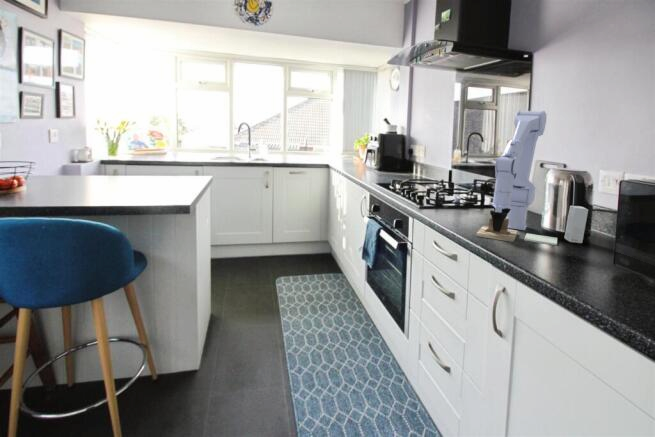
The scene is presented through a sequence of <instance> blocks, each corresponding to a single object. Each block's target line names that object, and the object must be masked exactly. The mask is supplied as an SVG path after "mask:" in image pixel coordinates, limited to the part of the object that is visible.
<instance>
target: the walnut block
mask: <svg viewBox="0 0 655 437" xmlns="http://www.w3.org/2000/svg"><path fill="white" fill-rule="evenodd" d="M508 223H509V219H504V221H503V224H502V227H501V230H500V232H496V231H493V221H492V216H491V217H490V218H489V221H488V232H491V233H498V234H504V235H507V230H509V228H508Z"/></svg>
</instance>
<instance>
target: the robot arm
mask: <svg viewBox="0 0 655 437" xmlns="http://www.w3.org/2000/svg"><path fill="white" fill-rule="evenodd" d="M513 119H514V126H515V131H514V135H513V137H512V140H508V142H507V144H506V146H505V148H504V150H503V152H502V155H501V156H499V157H497V159H496V161H495V164H494V165H495V166H494V171H495V174H494V175H495V176H494V177H495V184H494V185H495V186H494V190H493V191H494V192H493V200H492V202H490V201H489V202H488V205H489V206H492V207H493V209H492V210H489V213H490V215H491V217H492V221H493V231H496V232H500V230H501V227H502V224H503V221H504V219H509V223H508V229H511V230H513V229H514V230H519V231H520V230H521V231H526V229H527V226H528V225H527V224H526V221H527V214H528V208H529V207H530V206H532V204H533V203H534V200H535V194H536V193H535V191H536V186H535V184H533V182H531V181H530V177H531V176H530V175H531V172H532V165H533V161H534V155H535V151H536V146H537V141H538V138H539V137H540V136H543V135H544V132H545V129H546V123H547V113H546V111H545V110H542V111H541V110H540V111H539V110H537V111H536V110H532V111H531V110H521V109H520V110H517V111H516V112H515V115H514V118H513Z"/></svg>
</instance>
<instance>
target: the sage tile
mask: <svg viewBox="0 0 655 437" xmlns="http://www.w3.org/2000/svg"><path fill="white" fill-rule="evenodd" d="M523 239H524V240H523V241H525V242H532V243H538V244H545V245H552V246H557V245H558V237H554V236H548V235H540V234H535V233H529V232H527V233H526V234H525V236H524V238H523Z"/></svg>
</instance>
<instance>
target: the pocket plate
mask: <svg viewBox="0 0 655 437" xmlns="http://www.w3.org/2000/svg"><path fill="white" fill-rule="evenodd" d="M488 227H489V225H488V226H487V225H482V226H481V227H480V229H479V230H477V232H476V235H475V236H476V237H480V238H487V239H493V240H500V241H504V242H512V243H514V241H515V239H516V238H517V235H518V230H516V229H514V230H513V229H508V230H507V235H504V234H498V233H491V232H488Z"/></svg>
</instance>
